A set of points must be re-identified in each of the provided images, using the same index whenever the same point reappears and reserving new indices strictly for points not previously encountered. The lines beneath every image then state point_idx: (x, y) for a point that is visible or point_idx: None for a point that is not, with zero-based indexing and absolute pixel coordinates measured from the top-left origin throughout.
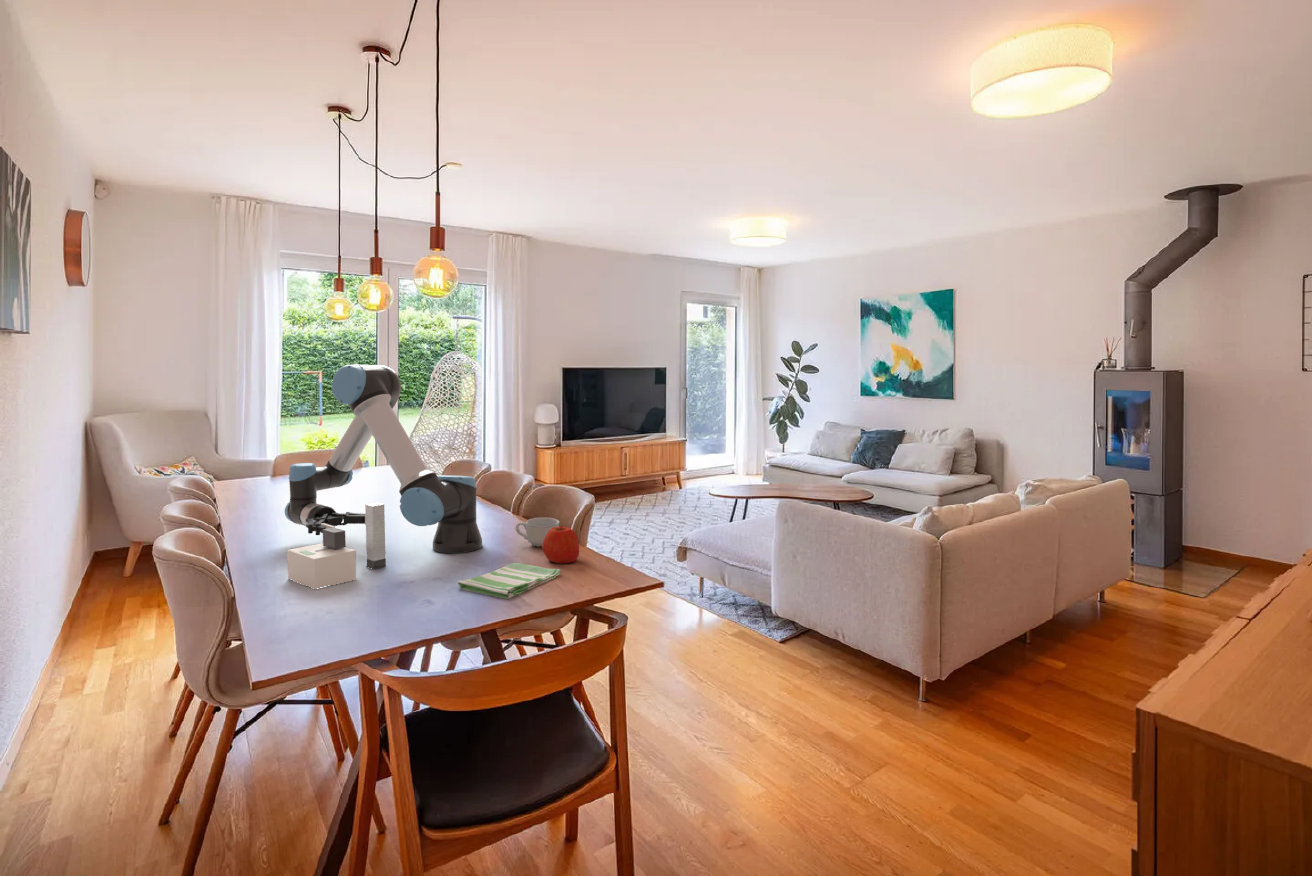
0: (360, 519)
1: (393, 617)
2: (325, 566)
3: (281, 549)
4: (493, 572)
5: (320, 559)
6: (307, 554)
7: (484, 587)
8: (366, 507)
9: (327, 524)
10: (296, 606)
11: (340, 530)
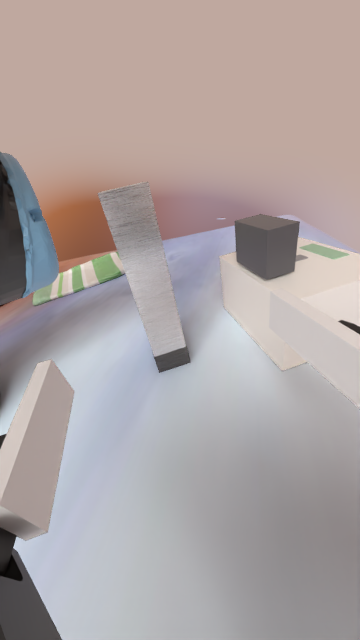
0: (17, 599)
1: (208, 244)
2: None
3: None
4: (76, 286)
5: None
6: (316, 244)
7: None
8: (149, 193)
9: (324, 325)
10: None
11: (245, 220)
